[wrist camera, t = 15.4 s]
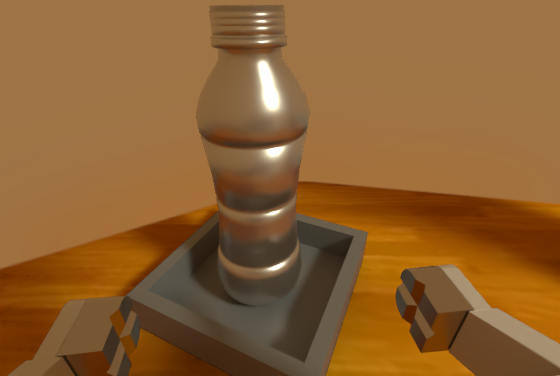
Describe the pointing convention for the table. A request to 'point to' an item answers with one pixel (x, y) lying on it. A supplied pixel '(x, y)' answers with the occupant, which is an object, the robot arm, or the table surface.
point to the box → (254, 319)
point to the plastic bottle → (254, 151)
